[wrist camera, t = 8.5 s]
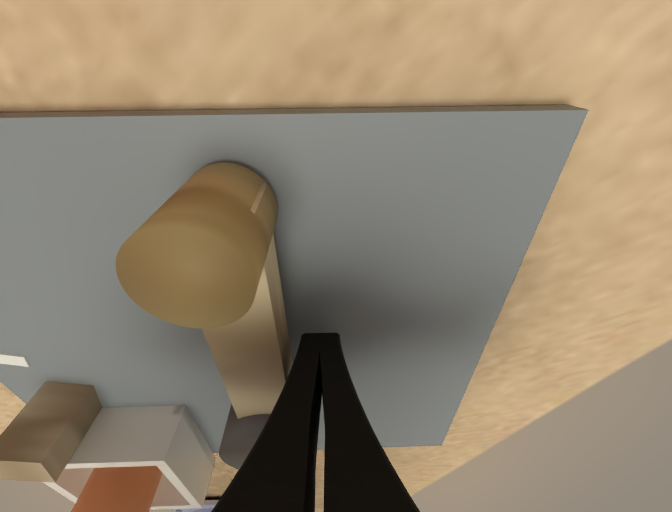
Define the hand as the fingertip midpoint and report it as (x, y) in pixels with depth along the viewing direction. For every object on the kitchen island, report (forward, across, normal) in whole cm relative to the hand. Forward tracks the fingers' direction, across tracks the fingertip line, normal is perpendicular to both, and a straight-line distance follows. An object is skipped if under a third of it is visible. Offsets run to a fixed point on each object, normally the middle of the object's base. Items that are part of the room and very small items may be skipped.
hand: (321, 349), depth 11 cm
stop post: (+1, +12, +4) cm, 13 cm away
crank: (+1, +2, 0) cm, 3 cm away
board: (+2, +4, +2) cm, 5 cm away
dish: (+1, +10, +9) cm, 14 cm away
